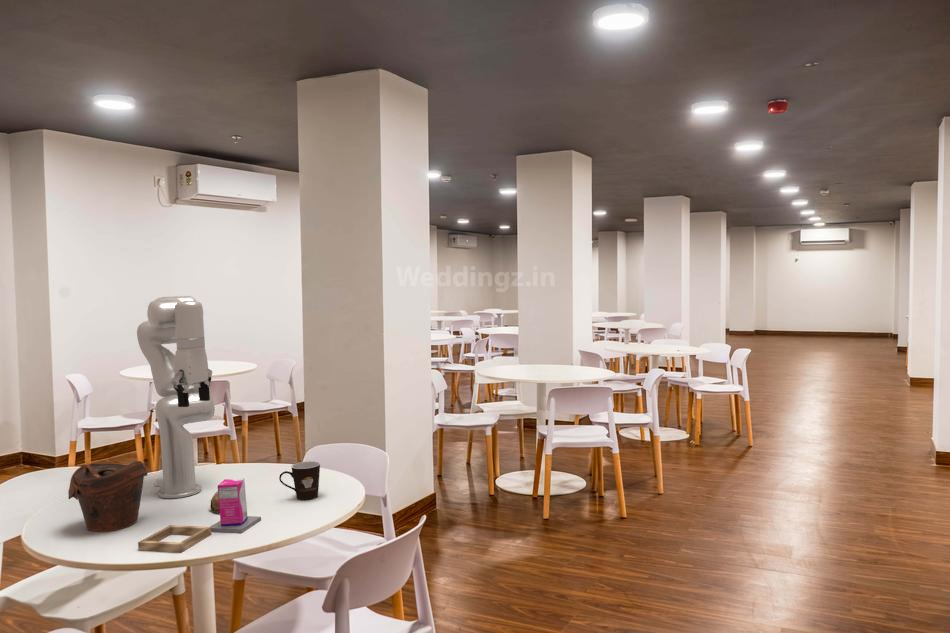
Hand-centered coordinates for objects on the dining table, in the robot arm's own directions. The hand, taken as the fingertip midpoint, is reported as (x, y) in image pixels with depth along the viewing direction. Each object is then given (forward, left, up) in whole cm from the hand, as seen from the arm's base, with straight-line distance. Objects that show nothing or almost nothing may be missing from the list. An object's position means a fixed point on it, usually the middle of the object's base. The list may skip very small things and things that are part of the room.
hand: (194, 403), depth 200 cm
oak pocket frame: (+7, -21, -32) cm, 39 cm away
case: (-21, -11, -32) cm, 40 cm away
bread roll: (+5, +6, -33) cm, 34 cm away
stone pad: (+16, -8, -32) cm, 37 cm away
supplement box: (+16, -8, -32) cm, 36 cm away
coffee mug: (+23, +18, -32) cm, 44 cm away
